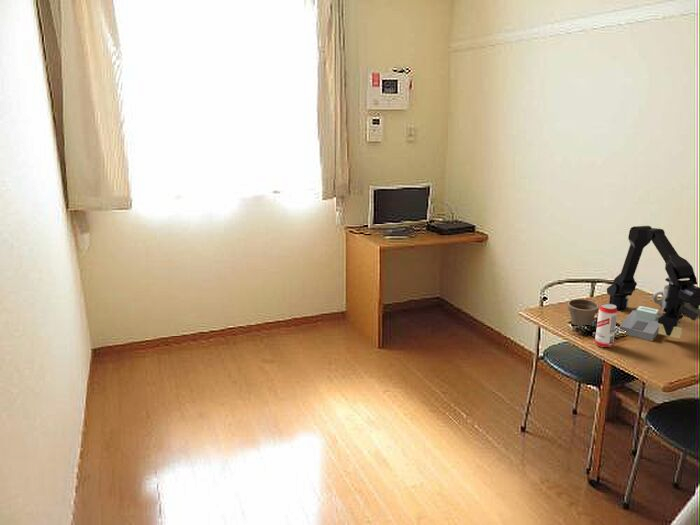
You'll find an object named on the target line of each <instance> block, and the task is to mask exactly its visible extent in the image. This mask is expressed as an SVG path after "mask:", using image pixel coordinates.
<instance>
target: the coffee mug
mask: <svg viewBox="0 0 700 525" xmlns="http://www.w3.org/2000/svg"><path fill="white" fill-rule="evenodd" d="M668 286H669V284H666V285H664V286H663V290H656V291H654V293H653V296H652V299H653V302H654V303H655V304H657V305H659V306H660V310H661V311H662V312H663V309H664V308H665V304H666V301H665V299H666V297H667V292H668ZM659 295H661V299H660V300H659V299H657V297H658V296H659Z"/></svg>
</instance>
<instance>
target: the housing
mask: <svg viewBox="0 0 700 525" xmlns="http://www.w3.org/2000/svg"><path fill="white" fill-rule="evenodd" d="M636 311H637V309H633V310H632V311H631V312H630V313H629V314H628V315H627V317H625V319H624V320H623V322H621V324H620V325H619V328H620V329H622V330H624V331H626V334H627V335H626V336H628V335H629V336H628V337H632V336H633V337H632V338H637V339H642V340H646V341H649V342H653V341H654V340H655V338H657V336H658V335H659V334H658V331H659V325H660V323H658V318H659V316H660V315H659V314H658V317H657V318H656V320H655V321H654V320H649V319H645V318H640V317H636Z"/></svg>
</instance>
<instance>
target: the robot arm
mask: <svg viewBox="0 0 700 525" xmlns="http://www.w3.org/2000/svg"><path fill="white" fill-rule="evenodd" d="M627 238H628V241H629V246H628V247H629V248H628V251H627V253H626V257H625V260H624V263H623V266H622V269H621V272H620V273H619V274H618V275H617V276H615V277H614V280H613V281H612V284H611V285H609V286H608V287H607V288H606V294H607V295H609V304H613V305H615V306H616V307H617V308H616V309H617V311H619V312H624V311H625V310H626V309H627V308H628V305H629V298H628V296H629V297H630V296H633V293H634V291H636V286H637V285H638V284H637V283H638V282H636V279H635V277H634V276H635V273H636V270H637V268H638V266H639V262H640V259H641V256H642V253H643V251H644V249H645V247H646V246H648V245H649V244H651V242H652V244H653V245H654V247H655V248H656V250H657V251H658V253H659V254H660V256H661V258H662V259H663V261H664V263H665V266H664V269H665V272H666V274H667V275H668V276H667V277H666V278H665V281H666V282H667V283H668V285H669V286H668V292H667V297H666V299H665V301H666V304H665V308H664V309H663V311H662V312H663V313H661V314H660V315H659V318H658V323H660V324H663V326H664V329H665V332H666V335H667V337H670V335H671V332H672V330H673V328H674V327H677V326H678V325H680V322H681V320H682V319H683V318H684V317H687V318H688V319H690V320H691V321H696V320H697V319H698V317H699V316H700V287H699V286H697V285H698V281H697V277H696V274H695V271H694V268H693V266H692V264H690V262H689V261H688V260H687V259H686V258H684V257H681V256H680V255H679V254H678V252H677V251H676V249H675V248H674V246H673V244H672V243H671V242H670V240H669V238H668V237H667V236H666V233H665V230H664V229H663V228H658V227H657V228H656V227H653V228H652V226H650V225H638V226H632V227H630V229H629V231H628V237H627ZM682 314H683V315H682ZM666 335H665V336H666Z"/></svg>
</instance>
